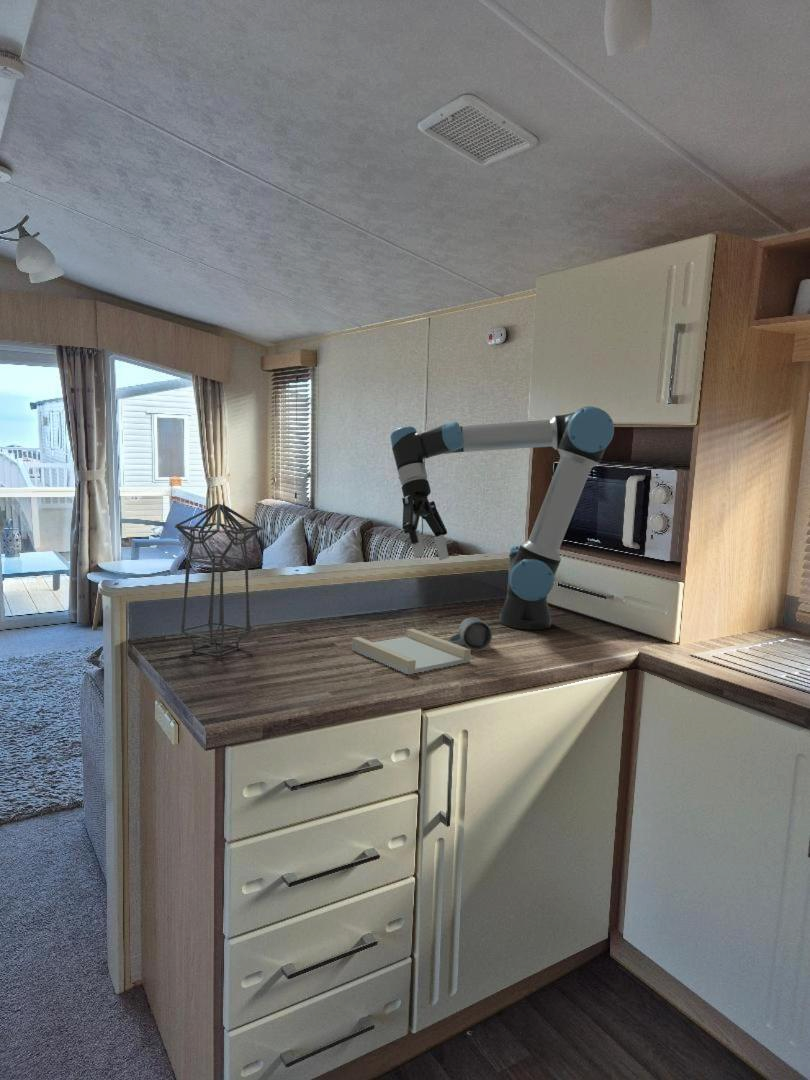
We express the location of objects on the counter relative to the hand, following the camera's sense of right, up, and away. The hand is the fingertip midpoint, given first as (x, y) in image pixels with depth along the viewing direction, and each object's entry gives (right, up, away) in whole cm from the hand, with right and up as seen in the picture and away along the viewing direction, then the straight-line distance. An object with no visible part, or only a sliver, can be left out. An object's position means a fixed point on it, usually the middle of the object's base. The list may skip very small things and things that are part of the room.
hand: (432, 557), depth 191 cm
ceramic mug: (+9, -23, -6) cm, 25 cm away
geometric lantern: (-52, -22, -18) cm, 59 cm away
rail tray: (-6, -24, -17) cm, 29 cm away
